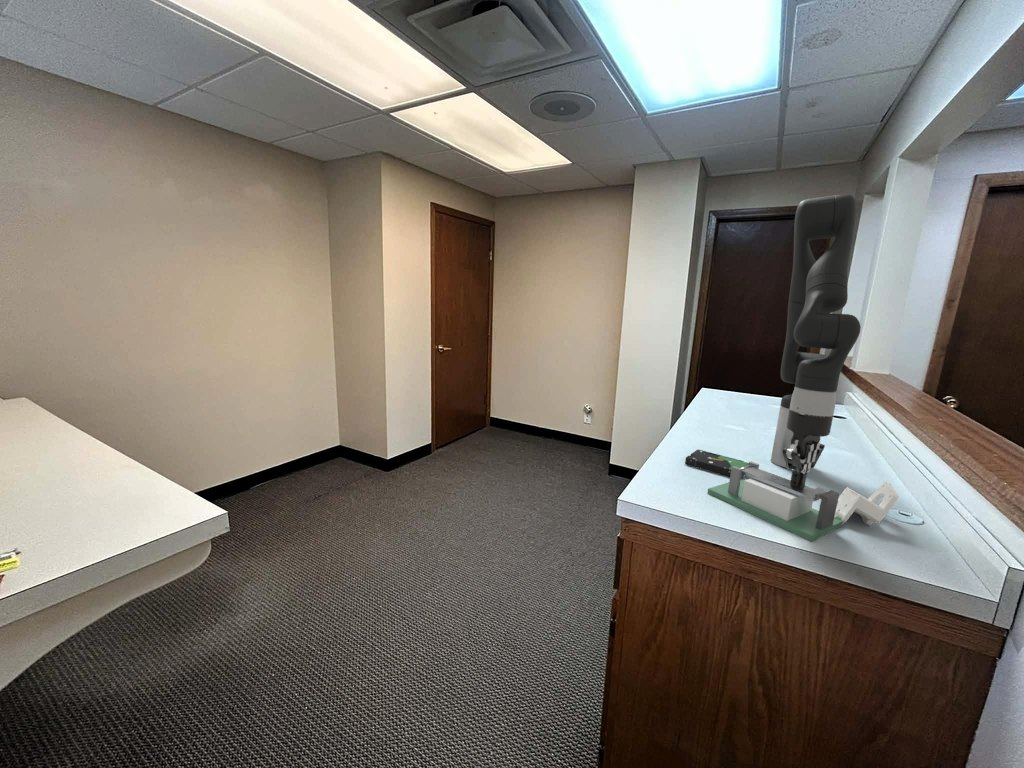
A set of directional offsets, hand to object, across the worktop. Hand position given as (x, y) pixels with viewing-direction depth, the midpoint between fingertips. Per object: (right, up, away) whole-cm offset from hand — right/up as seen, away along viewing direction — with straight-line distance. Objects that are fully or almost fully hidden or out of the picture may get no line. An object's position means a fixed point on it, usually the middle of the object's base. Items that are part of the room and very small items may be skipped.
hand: (796, 487), depth 89 cm
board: (-2, -6, +5) cm, 9 cm away
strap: (-2, 0, +4) cm, 4 cm away
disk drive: (-3, -2, +29) cm, 29 cm away
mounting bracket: (+15, -8, +2) cm, 17 cm away
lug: (+3, -7, -4) cm, 8 cm away
